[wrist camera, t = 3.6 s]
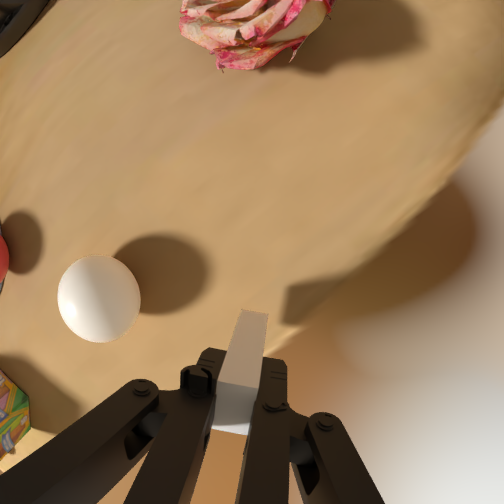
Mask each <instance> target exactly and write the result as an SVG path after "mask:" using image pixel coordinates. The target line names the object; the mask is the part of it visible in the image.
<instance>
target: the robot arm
mask: <svg viewBox="0 0 504 504" xmlns="http://www.w3.org/2000/svg"><path fill="white" fill-rule="evenodd" d="M48 1H49V0H0V57H1V56H2V55H3V54H5V53H6V52H7V51H8V50H9V49H10V48H11V47H12V46H13V45H14V44H15V43H16V42H17V41H18V39H19V38H20V37H21V36H22V35H23V34H24V32H25V31H26V30H27V29H28V28H29V26H30V25H31V24H32V23H33V21H34V20H35V19H36V17H37V16H38V15H39V13H40V12H41V11H42V9H43V8H44V6H45V5H46V3H47V2H48ZM267 319H268V314H265V313H259V312H254V311H248V310H242V309H241V312H240V315H239V318H238V321H237V324H236V327H235V330H234V333H233V336H232V338H231V341H230V344H229V347H228V350H227V351H224V350H219V349H215V348H210V347H209V348H207V349H206V350H204V351H203V352H202V353H201V355H200V357H199V360H198V362H197V364H196V365H191V366H187V367H185V368H183V369H182V370H181V376H180V389H178V390H171V391H166V390H159V389H158V387H157V385H156V384H155V383H153V382H152V381H149V380H146V379H135V380H132V381H130V382H128V383H127V384H125V385H124V386H123V387H121V388H120V389H119V390H117V391H116V392H115V393H113V394H112V395H111V396H110V397H108V398H107V399H106V400H104V401H103V402H102V403H100V404H99V405H98V406H96V407H95V408H94V409H92V410H91V411H90V412H88V413H87V414H86V415H84V416H83V417H81V418H80V419H79V420H77V421H76V422H75V423H73V424H72V425H71V426H69V427H68V428H67V429H65V430H64V431H62V432H61V433H60V434H58V435H57V436H56V437H54V438H53V439H51V440H50V441H49V442H47V443H46V444H44V445H43V446H42V447H40V448H39V449H37V450H36V451H35V452H33V453H32V454H30V455H29V456H27V457H26V458H25V459H23V460H22V461H20V462H19V463H17V464H16V465H15V466H13V467H12V468H10V469H9V470H7V471H6V472H4V473H3V474H1V475H0V504H97V503H98V502H99V500H101V499H102V498H103V497H104V496H105V495H106V494H107V493H108V492H109V491H110V490H111V489H112V488H113V487H114V486H115V485H116V484H117V483H118V482H119V481H120V480H121V479H122V478H123V477H124V476H125V475H126V474H127V473H128V472H129V471H130V470H131V469H132V468H133V467H134V466H135V465H136V464H137V463H138V462H139V461H140V459H141V458H142V457H143V456H144V455H145V454H146V453H147V452H148V451H149V452H148V454H147V456H146V458H145V460H144V462H143V464H142V466H141V468H140V470H139V472H138V474H137V476H136V478H135V480H134V482H133V485H132V487H131V489H130V491H129V493H128V495H127V497H126V499H125V501H124V503H123V504H190V501H191V498H192V495H193V492H194V488H195V485H196V482H197V478H198V475H199V472H200V468H201V465H202V462H203V459H204V455H205V452H206V449H207V445H208V442H209V438H210V430H211V427H212V429H217V430H222V431H227V432H232V433H237V434H243V435H247V440H246V444H245V448H244V453H243V455H244V456H243V461H242V467H241V473H240V479H239V484H238V489H237V494H236V501H235V504H288V495H289V462H291V465H292V468H293V471H294V475H295V478H296V481H297V484H298V488H299V491H300V494H301V497H302V500H303V503H304V504H385V503H384V501H383V499H382V497H381V495H380V493H379V491H378V490H377V488H376V486H375V484H374V482H373V480H372V478H371V476H370V475H369V473H368V471H367V469H366V467H365V465H364V463H363V461H362V460H361V458H360V456H359V454H358V452H357V450H356V448H355V447H354V444H353V443H352V441H351V439H350V437H349V435H348V433H347V431H346V429H345V428H344V426H343V424H342V422H341V421H340V419H339V418H338V417H336V416H335V415H333V414H330V413H326V412H325V413H324V412H319V413H315V414H313V415H311V416H310V418H309V417H306V416H303V415H301V414H298V413H296V412H295V411H293V410H292V409H291V408H290V407H289V404H288V402H287V366H286V364H285V362H284V361H283V360H280V359H274V358H267V357H263V351H264V343H265V335H266V327H267Z"/></svg>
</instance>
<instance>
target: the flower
mask: <svg viewBox="0 0 504 504" xmlns="http://www.w3.org/2000/svg"><path fill="white" fill-rule="evenodd" d="M335 3H336V0H332V1H331V0H183V3H182V8H181V9H180V12H181V13H182V14H184V15H186V16H184V17H180V22H179V28H180V32H181V35H182V36H184V37H186V38H187V39H189V40H191V41H193V42H195V43H196V44H198V45H200V46H202V47H204V48H206V49H209V50H212V49H213V50H212V51H211V52H210V53H209V54H215V55H216V57H217V59H216V66H217V68H218V70H219V69H220V68H225V67H227V68H231V69H239V70H248V69H256V68H259V67H261V66H263V65H265V64H266V63H267V62H268V61H270V60H271V59H272V58H273V57H274V56H276V55H277V54H278V53H279V52H280V51H282V50H283V49H285V48H287V47H290V48H291V49H292V50H293V51H294V53H293V56H292V58H291V60H292V59H293V58H294V57H295V54H296V52H297V51H298V49H299V48H300V47H301V45H302V44H303V42H304V41H305V40H306V38H307V37H308V36H309V34H311V33H312V32H313V31H314V30H315V29H317V28H318V27H319V25H320V24H321V23H322V22H323V20H324V18H325V16H326V17H328V18H329V19H330V20H331V18H330V17H329V16H328V15H327V14H328V13H330V12H331V11H332V10H331V9H332V8H334V6H335ZM209 20H210V21H209ZM195 25H196V26H195ZM189 35H191V36H189ZM223 47H224V48H223ZM291 60H290V61H291ZM289 63H290V62H289ZM222 72H223V70H222ZM223 73H224V72H223Z"/></svg>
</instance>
